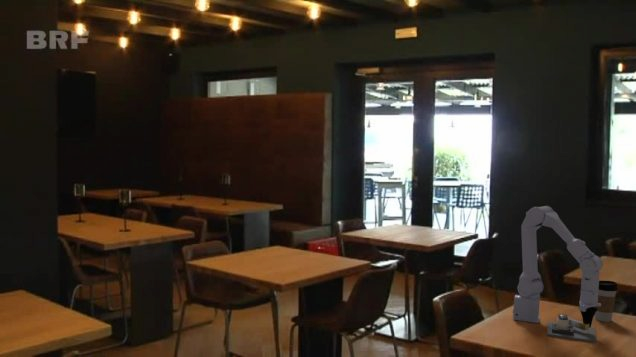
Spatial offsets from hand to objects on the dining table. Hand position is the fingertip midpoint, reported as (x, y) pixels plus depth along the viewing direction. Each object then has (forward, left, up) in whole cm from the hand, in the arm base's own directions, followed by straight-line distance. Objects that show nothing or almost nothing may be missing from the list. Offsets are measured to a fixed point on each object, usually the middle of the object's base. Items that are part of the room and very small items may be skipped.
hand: (586, 327), depth 220 cm
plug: (-8, -3, -3) cm, 9 cm away
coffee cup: (+7, +23, -3) cm, 24 cm away
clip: (-5, +1, 0) cm, 5 cm away
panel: (-5, -1, -3) cm, 6 cm away
